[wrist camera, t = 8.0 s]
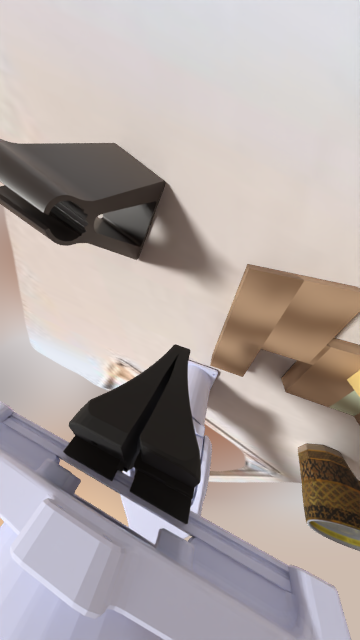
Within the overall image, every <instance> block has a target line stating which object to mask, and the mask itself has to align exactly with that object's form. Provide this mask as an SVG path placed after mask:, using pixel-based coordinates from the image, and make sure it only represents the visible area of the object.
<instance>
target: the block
mask: <svg viewBox="0 0 360 640" xmlns="http://www.w3.org/2000/svg"><path fill="white" fill-rule="evenodd" d="M347 381H348V382H349V383H350V385H351V386H352V387H353V389H354V390H355V392H356V393H357V394H358V396H359V397H360V370H359V371H358V372H356V373H355V374H354V375H352V376H351V377H350V378H348V379H347Z"/></svg>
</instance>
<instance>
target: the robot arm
mask: <svg viewBox="0 0 360 640" xmlns="http://www.w3.org/2000/svg"><path fill="white" fill-rule="evenodd" d="M189 355H190V349H187V348H184V347H181V346H179V345H176V344H175V345H174V346H173V347H172V348H171V349H170V350H169V351H168V352H167V353H166V354H165V355H164V356H163V357H162V358H160V359H159V360H158V361H157V362H156V363H154V364H153V365H152V366H151V367H149V368H148V369H147V370H145V371H144V372H142V373H141V374H139V375H138V376H136V377H135V378H133V379H131V380H130V381H128V382H126V383H125V384H123V385H121V386H119V387H117V388H115V389H113V390H111V391H109V392H107V393H105V394H102V395H100V396H98V397H96V398H93V399H91V400H90V401H89V402H88V403H87V404H86V405H85V406H84V407H83V408H81V409H80V411H79V412H78V413H77V414H76V415H75V416H74V418H73V419H72V420H71V421H70V422H69V427H70V429H71V430H72V431H73V433H74V434H75V437H74V438H73V439H72V441H71V442H70V443H69V442H67V441H65V440H64V439H62V438H60V437H58V436H57V435H55V434H52V433H51V432H49V431H47V430H46V429H44V428H42V427H40V426H39V425H37V424H35V423H33V422H32V421H30V420H28V419H26V418H24V417H23V416H21V415H19V414H17V413H15V412H14V411H13V409H11V407H9V406H8V405H6V404H5V403H3V402H1V401H0V518H1V519H2V520H3V521H4V523H3V524H2V526H1V527H0V640H351V637H350V634H349V630H348V627H347V624H346V619H345V616H344V612H343V609H342V605H341V602H340V598H339V594H338V591H337V590H336V588H335V587H334V586H333V585H331V584H329V583H327V582H326V581H324V580H322V579H320V578H318V577H317V576H315V575H313V574H311V573H309V572H308V571H306V570H304V569H301V568H299V567H297V566H294V565H287V564H285V563H283V562H281V561H280V560H277V559H276V558H274V557H273V556H271V555H269V554H267V553H265V552H263V551H262V550H260V549H258V548H256V547H255V546H253V545H251V544H249V543H248V542H246V541H244V540H242V539H240V538H239V537H237V536H235V535H233V534H231V533H230V532H228V531H226V530H224V529H223V528H221V527H219V526H217V525H215V524H214V523H212V522H210V521H208V520H206V519H205V518H203V517H201V511H202V505H203V501H204V499H205V496H206V491H207V486H208V480H209V473H210V464H211V453H212V444H211V442H210V440H209V437H208V436H206V435H205V436H204V431H205V427H204V422H205V416H206V410H207V404H208V398H209V392H210V390H211V387H212V385H213V383H214V381H215V379H216V377H217V375H218V371H217V370H215V369H212V368H209V367H206V366H203V365H201V364H198V363H195V362H192V361H189ZM203 437H204V439H203ZM59 458H60V459H62V460H64V461H65V462H67V463H69V464H70V465H72V466H74V467H76V468H77V469H79V470H80V471H82V472H84V473H86V474H87V475H89V476H91V477H92V478H94V479H96V480H97V481H99V482H101V483H102V484H104V485H106V486H107V487H109V488H111V489H113V490H115V491H116V492H118V493H119V494H120V495H121V499H122V503H123V506H124V509H125V513H126V516H127V520H128V525H129V527H127V526H126V525H124V524H122V523H121V522H119V521H118V520H116V519H114V518H113V517H111V516H110V515H108V514H106V513H105V512H103V511H102V510H100V509H98V508H97V507H95V506H93V505H92V504H90V503H89V502H87V501H86V500H84V499H82V498H80V497H79V496H77V495H76V494H74V493H75V490H76V489H77V487H78V485H79V484H80V482H81V480H80V479H79V478H77V477H76V476H74V475H73V474H72V473H71V472H70V471H68V470H66V469H65V468H63V467H62V466H60V465H59V462H60V459H59ZM122 471H123V472H122ZM188 536H192V537H191V538H190V539H189V540H188V542H187V541H186V540H184V538H186V537H188Z"/></svg>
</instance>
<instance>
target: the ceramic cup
mask: <svg viewBox="0 0 360 640" xmlns="http://www.w3.org/2000/svg"><path fill="white" fill-rule="evenodd" d="M298 456H299V463H300V472H301V480H302V493H303V503H304V510H305V517H306V523H307V524H308V526H309V527H310V528H312V529H313V530H314V531H316V532H317V533H319V534H321V535H322V536H324V537H326V538H328V539H331V540H333V541H335V542H337V543H340V544H342V545H344V546H347V547H350V548H353V549H355V550H358V551H360V481H359V480H357V478H356V477H355V476H354V474H353V473H352V471H351V470H350V468H349V467H348V465H347V464H346V462H345V460H344V459H343V457H342V456H341V454H340V453H339V451H337V450H334V449H332V448H329V447H327V446H324V445H318V444H304V445H302V446H300V447H298Z"/></svg>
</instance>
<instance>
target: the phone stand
mask: <svg viewBox="0 0 360 640" xmlns="http://www.w3.org/2000/svg"><path fill="white" fill-rule="evenodd" d="M0 182H1V183H3V184H4V186H1V187H0V204H1V205H3V206H4V207H6V208H7V209H8V210H10V211H11V212H13V213H14V214H15V215H17V216H18V217H20V218H21V219H22V220H24V221H25V222H27V223H28V224H29V225H31V226H32V227H34V228H35V229H36V230H38V231H39V232H41V233H42V234H43V235H45V236H46V237H48V238H49V239H51V240H52V241H53V242H55V243H57V244H59V245H72V244H76V243H89V244H93V245H95V246H98V247H101V248H104V249H107V250H110V251H113V252H116V253H118V254H121V255H124V256H127V257H130V258H133V259H136V260H137V259H138V258H139V255H140V252H141V249H142V247H143V244H144V241H145V238H146V236H147V233H148V230H149V226H150V225H151V222H152V219H153V216H154V214H155V211H156V208H157V205H158V202H159V200H160V197H161V194H162V191H163V189H164V186H165V181H164V180H163V179H161V178H160V177H159V176H157V175H156V174H155V173H153V172H152V171H151V170H149V169H148V168H147V167H146V166H144V165H143V164H142V163H140V162H139V161H138V160H136V159H135V158H134V157H132V156H131V155H130V154H129V153H127V152H126V151H125V150H123V149H122V148H121V147H119V146H118V145H117V144H115V143H66V144H17V143H11V142H7V141H4V140H1V139H0ZM100 214H103V217H102V218H101V219H100V218H98V217H97V216H98V215H100Z"/></svg>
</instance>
